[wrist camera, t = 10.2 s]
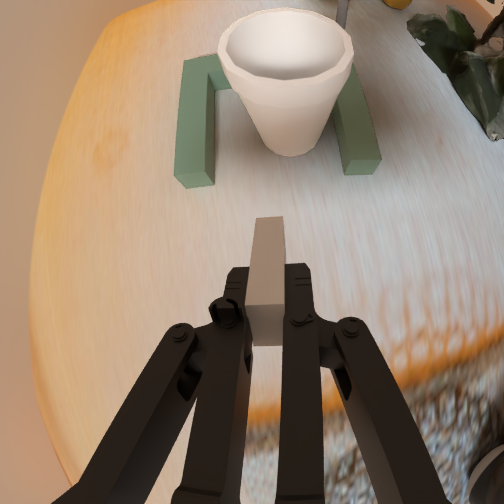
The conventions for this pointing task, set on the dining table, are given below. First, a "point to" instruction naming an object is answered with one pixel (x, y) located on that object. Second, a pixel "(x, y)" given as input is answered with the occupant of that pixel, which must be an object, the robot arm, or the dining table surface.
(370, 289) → the dining table surface
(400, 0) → the dumbbell
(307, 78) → the foam cup
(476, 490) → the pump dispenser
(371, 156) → the putting pocket
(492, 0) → the rose bouquet
